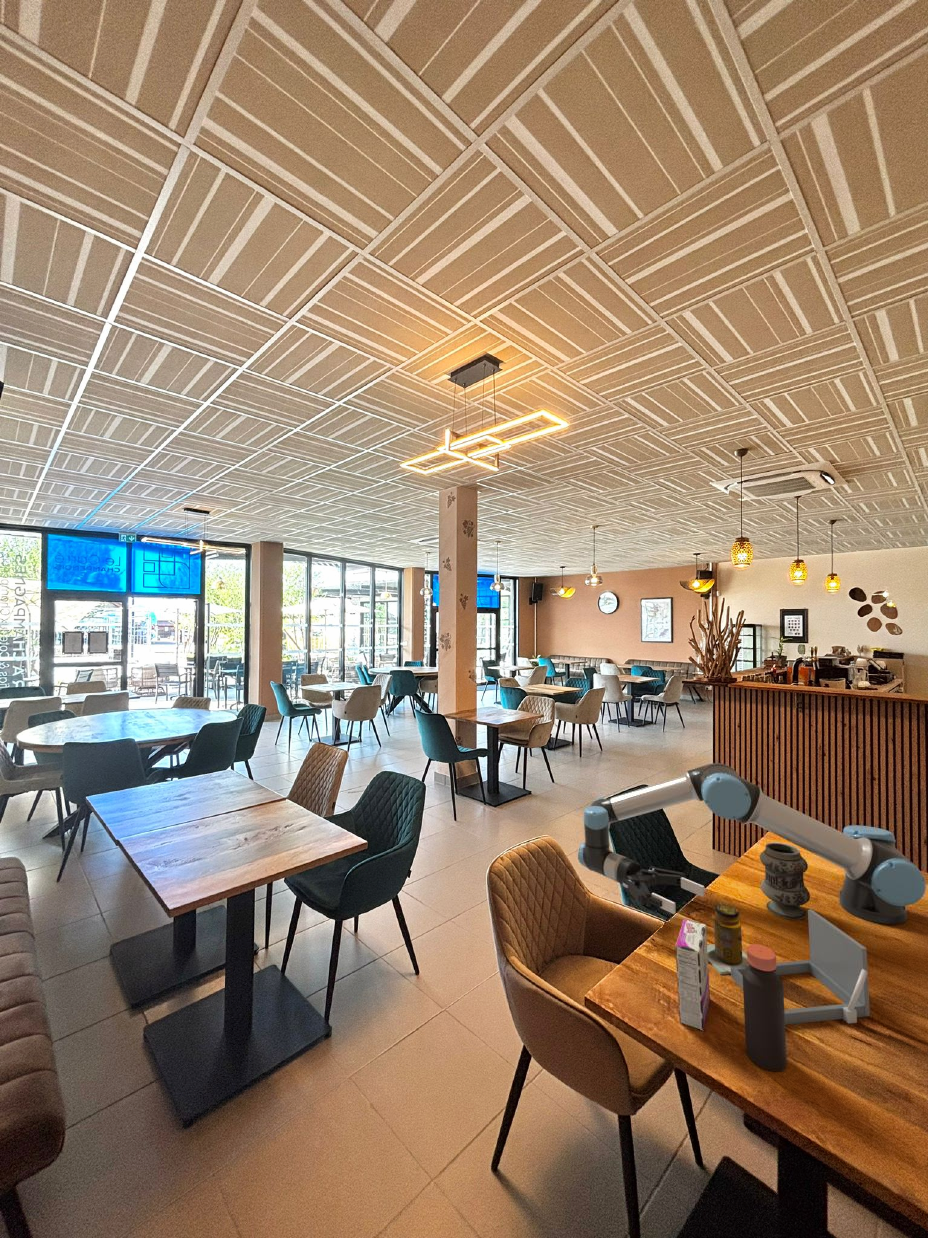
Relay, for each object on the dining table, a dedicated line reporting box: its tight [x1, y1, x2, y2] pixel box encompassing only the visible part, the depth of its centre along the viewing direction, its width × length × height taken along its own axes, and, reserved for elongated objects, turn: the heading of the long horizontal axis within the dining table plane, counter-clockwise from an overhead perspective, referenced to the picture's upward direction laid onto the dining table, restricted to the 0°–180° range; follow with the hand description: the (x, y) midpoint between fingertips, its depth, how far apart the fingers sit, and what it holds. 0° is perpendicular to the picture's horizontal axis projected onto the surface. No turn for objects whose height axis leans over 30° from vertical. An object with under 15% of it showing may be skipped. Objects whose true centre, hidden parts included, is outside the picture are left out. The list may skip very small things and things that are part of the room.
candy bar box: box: [675, 919, 711, 1032], centre depth 109 cm, size 11×5×16 cm, turn 148°
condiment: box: [707, 903, 748, 972], centre depth 125 cm, size 7×8×12 cm
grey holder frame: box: [730, 909, 871, 1026], centre depth 112 cm, size 21×16×14 cm
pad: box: [707, 944, 749, 975], centre depth 126 cm, size 10×10×1 cm
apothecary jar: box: [759, 841, 811, 921], centre depth 146 cm, size 12×12×18 cm
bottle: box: [742, 943, 788, 1072], centre depth 97 cm, size 7×7×20 cm
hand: (689, 900), depth 134 cm, fingers open, 13 cm apart
